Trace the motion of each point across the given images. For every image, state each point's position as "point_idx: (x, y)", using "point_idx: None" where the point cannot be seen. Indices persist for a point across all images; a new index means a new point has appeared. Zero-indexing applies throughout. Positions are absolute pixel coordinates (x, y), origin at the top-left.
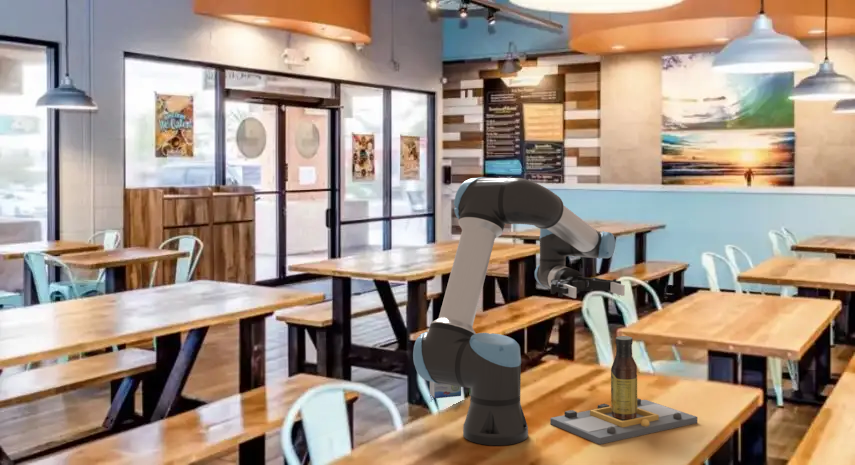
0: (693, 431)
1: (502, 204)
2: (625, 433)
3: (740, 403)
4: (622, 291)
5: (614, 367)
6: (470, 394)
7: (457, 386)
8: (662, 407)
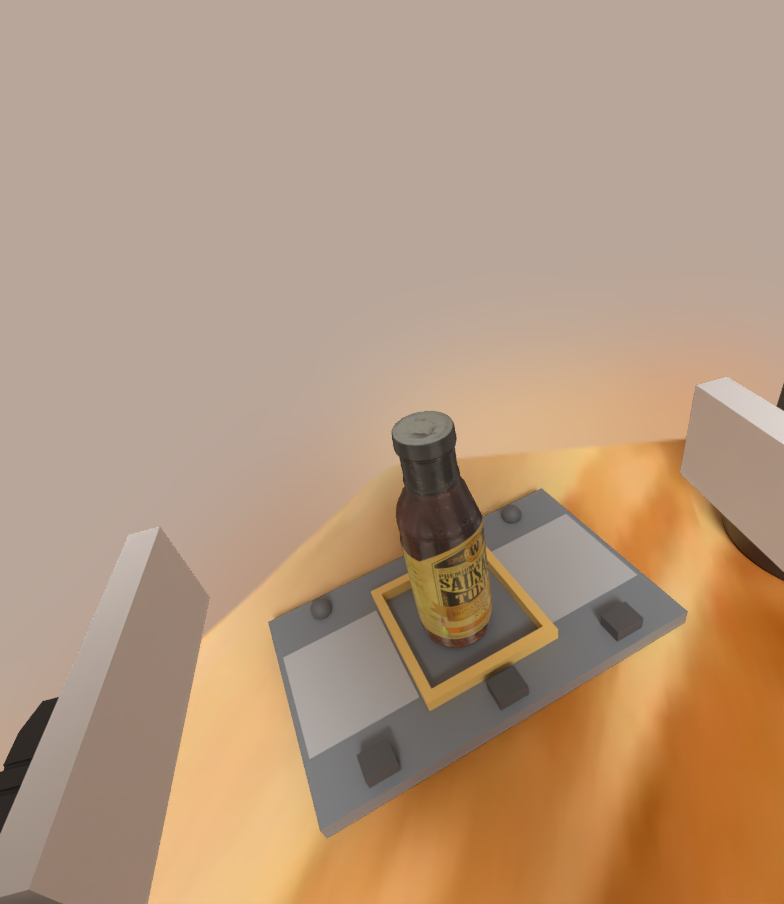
0: (317, 575)
1: None
2: None
3: None
4: (184, 572)
5: (472, 497)
6: None
7: None
8: (312, 707)
